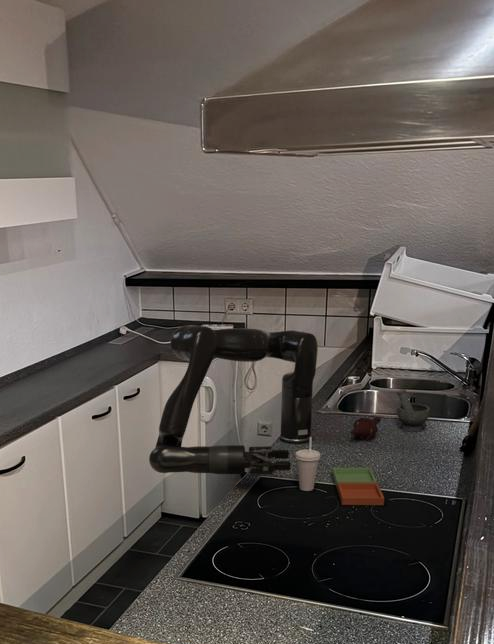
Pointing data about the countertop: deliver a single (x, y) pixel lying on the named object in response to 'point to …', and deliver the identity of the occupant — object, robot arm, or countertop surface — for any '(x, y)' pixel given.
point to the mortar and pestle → (411, 413)
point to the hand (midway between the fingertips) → (289, 459)
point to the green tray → (353, 475)
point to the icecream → (365, 427)
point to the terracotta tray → (360, 494)
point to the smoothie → (307, 467)
